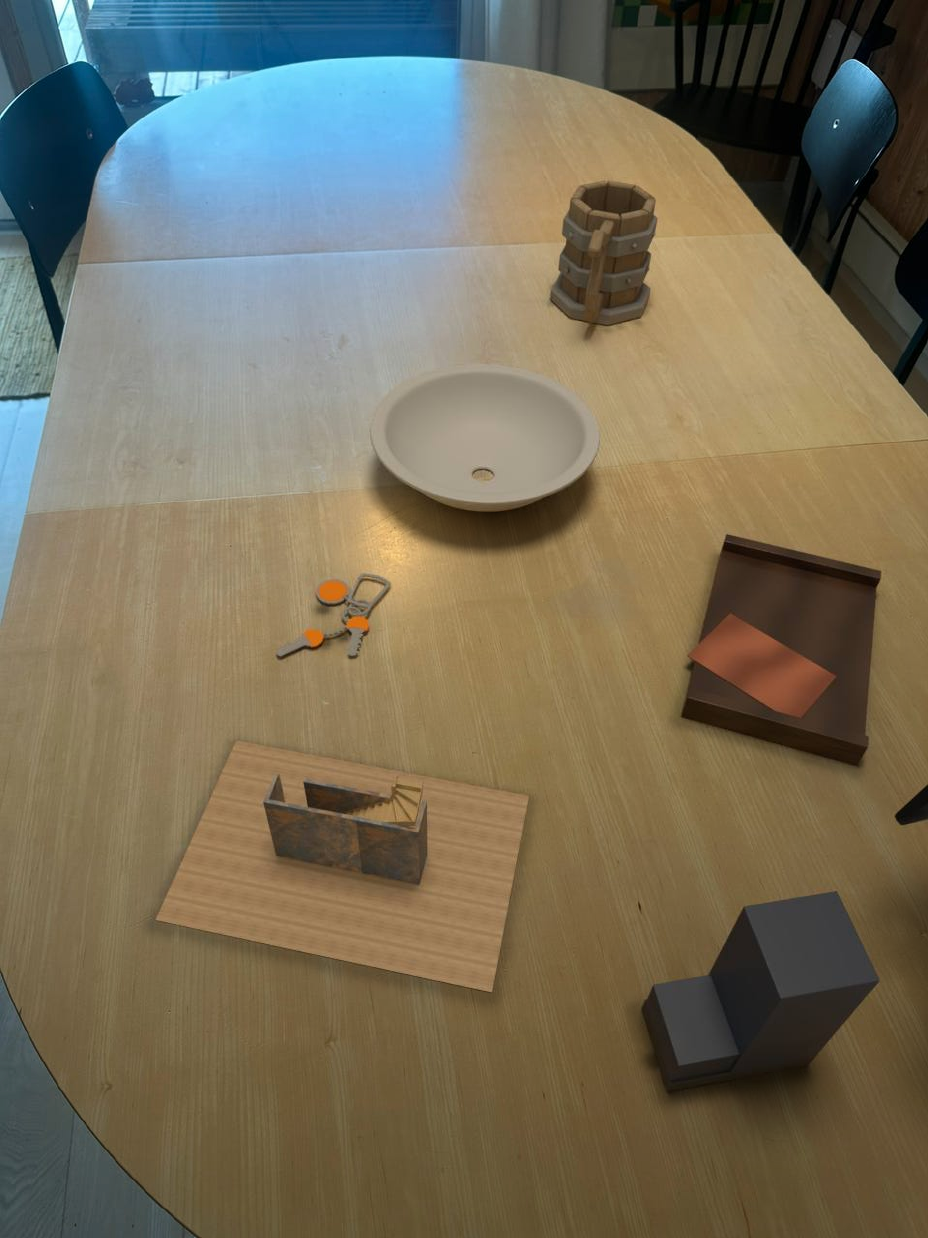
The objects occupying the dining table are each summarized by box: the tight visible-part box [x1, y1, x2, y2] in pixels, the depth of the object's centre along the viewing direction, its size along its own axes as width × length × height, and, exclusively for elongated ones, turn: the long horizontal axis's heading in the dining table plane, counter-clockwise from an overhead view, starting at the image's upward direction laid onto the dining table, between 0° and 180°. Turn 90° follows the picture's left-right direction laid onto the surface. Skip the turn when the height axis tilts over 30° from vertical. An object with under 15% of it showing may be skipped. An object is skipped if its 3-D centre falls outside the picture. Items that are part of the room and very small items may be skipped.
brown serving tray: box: [680, 533, 882, 766], centre depth 89 cm, size 16×22×3 cm
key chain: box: [275, 572, 392, 658], centre depth 91 cm, size 13×7×1 cm, turn 158°
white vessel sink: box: [369, 363, 601, 513], centre depth 103 cm, size 24×24×7 cm
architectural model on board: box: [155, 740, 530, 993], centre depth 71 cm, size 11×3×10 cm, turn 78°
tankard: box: [549, 179, 658, 326], centre depth 124 cm, size 20×13×15 cm, turn 162°
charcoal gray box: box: [641, 890, 880, 1093], centre depth 61 cm, size 10×6×14 cm, turn 100°
